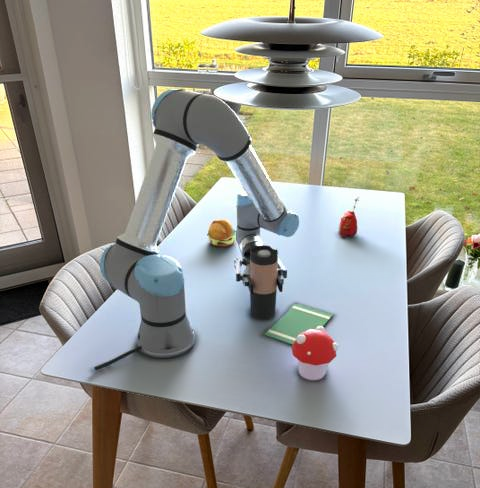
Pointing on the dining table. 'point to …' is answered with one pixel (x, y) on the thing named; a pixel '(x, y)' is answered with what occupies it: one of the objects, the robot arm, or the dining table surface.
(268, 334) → the cloth
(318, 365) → the mushroom
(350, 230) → the red clay folk toy
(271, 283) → the travel mug
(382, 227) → the dining table surface
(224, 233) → the cheeseburger
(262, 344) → the dining table surface
